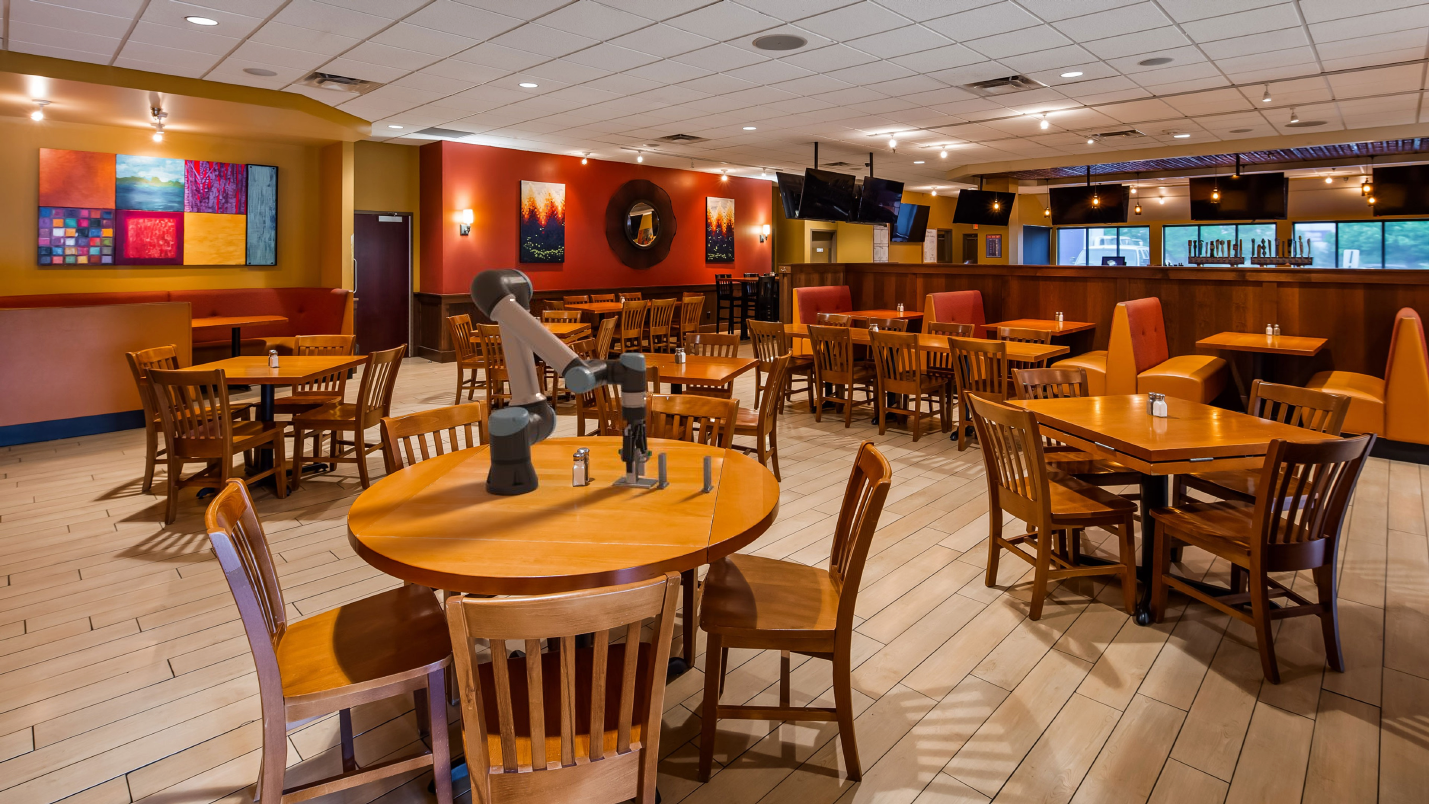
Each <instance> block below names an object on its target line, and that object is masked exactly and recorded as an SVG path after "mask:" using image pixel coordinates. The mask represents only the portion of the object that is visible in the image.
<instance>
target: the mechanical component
mask: <svg viewBox="0 0 1429 804" xmlns="http://www.w3.org/2000/svg"><path fill="white" fill-rule="evenodd" d="M622 450H623V447H621V448H618V451H617V452H618V454H619V456H620V460H621V461H622ZM652 456H653V451H652V450H650V449H648V450H646V452H645V454H641V452H640V449H639V448H636V447H635V453H634V462H635V476H636V482H637V481H638V477H639V476H638V467H640V465H639V463H645V464H646V463H647V462H648V461H650V459H651V457H652ZM640 457H644V458H645V460H642V459H640Z"/></svg>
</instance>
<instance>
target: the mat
mask: <svg viewBox="0 0 1429 804" xmlns="http://www.w3.org/2000/svg"><path fill="white" fill-rule="evenodd" d="M657 483H659V478H653V477H642V476H638V481H637V482H636V483H626V475H625V476H624V475H622V476H621V477H619V478H618V479H617V480H615V481H614V482H612V486H617V487H628V488H629V487H631V488H642V489H652V487H653V486H654V485H656V484H657Z"/></svg>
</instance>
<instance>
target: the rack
mask: <svg viewBox="0 0 1429 804" xmlns="http://www.w3.org/2000/svg"><path fill="white" fill-rule="evenodd" d="M657 460H658V461H657V462H658V463H657V464H658V465H657V466H658V467H657V469H658V471H657V472H658V475H657V476H658V479H659V481H658V484H657V485H656V486H655V489H660V490H664V489H666V488H667V487H668V486H669V485H670V482H668V481H667V479H668V478H667V475H668V474H667V471H668V470H667V469H668V468H667V452H660V453H659V454H658V455H657ZM702 463H703V466H702V467H703V468H702V469H703V488H701V489H700V491H701V493H710V492H711V491H712V490H713V489H714V488H715V485H712V455H705V456H704V457H703V461H702Z"/></svg>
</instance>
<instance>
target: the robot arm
mask: <svg viewBox="0 0 1429 804" xmlns="http://www.w3.org/2000/svg"><path fill="white" fill-rule="evenodd" d="M469 289H470V291H469V292H470V297H471V299H472V302H474V304H475V306H476V307H477V308H478V310H479V311H481V312H482V313H483V314H484V316H486V317H487V318H488V319H490V320H491V321H492V322H495V321H496V322H497V323H498V328H499V335H500V339H501V345H502V350H503V356H504V360H505V366H506V370H507V376H508V381H509V387H510V388H509V389H510V392H511V400H510V401H509V403H508V407H505V408H500V409H497V410H495V411H492V413H491V414H490V415H489V416H488V424H487V431H488V440H489V441H488V442H489V452H490V453H489V454H490V455H489V457H490V467H489V470H488V474H487V476H486V480H485V489H486V492H487V493H490V494H493V495H500V496H509V495H511V496H513V495H520V494H521V495H522V494H525V493H529V492H532V491H535V490H537V488H538V487H539V477H538V476H537V475H538V474H537V473H536V470H535V467H534V465H533V462H532V451H531V446H534V445H535V444H538V443H540V442H543V441H544V440H545V441H546V439H548V437H550V436H551V435H552V434H553V432H554V431H555V429H556V428H557V427H556V426H557V414H556V413H555V410H554V409H553V408H552V407H551V406H550V404H548V401H547V400H548V399H547V396H545V395H544V394H542V393H541V389H540V384H539V383H540V382H539V378H538V373H537V367H536V363H535V357H534V353H535V354H536V355H537V356H538V357H539V358H540V359H541V360H542V361H543V362H545V363H546V364H547V365H548V366H550V367H551V368H552V369H553V370H554V371H555V372H557V373H558V375H560V376H561V377H562V378H563V379H564V384H565V386H566V388H567V389H568V390H569V392H571V393H573V394H577V395H578V394H583V393H584V394H585V393H588V392H590V391H592V390H593V389H596V388H599V387H601V386H605V385H608V386H609V385H610V386H611V385H612V386H613V385H614V386H620V403H621V405H622V406H621V410H620V411H621V418H622V419H623V420H626V427H625V428H624V427H623V428H622V429H621V433H622V448H623V450H622V460H621V461H622V462H623V463H625V476H626V483H636V476H635V462H634V453H635V448H639V449H640V452H641V454H645V452H646V450H649V449H648V438H647V435H648V433H647V420H646V419H647V416H648V409H647V407H648V406H647V405H646V404H647V398H648V394H647V375H646V374H647V366H646V356H645V354H643V353H640V352H624V353H621V354H620V355H619V359H600V358H592V359H591V358H590V359H589V358H587V359H585V360H584V359H583V358H581V357H580V356H579V355H578V354H577V353H576V352H574V350H572V349H571V348H570V347H569V346H568V345H567V344H566V343H564V342H563V341H562V340H561V339H560V338H559V337H557V336H556V335H555V334H554V333H553V332H552V331H550V330H549V329H548V328H547V327H546V326H545V325H543V324H542V323H541V322H540V320H538V319H537V318H535V316H533V315H532V314H531V313H530V311H531V307H530V303H529V302H530V301H531V299H532V297H533V290H534V289H533V284H532V282H531V280H530V278H529V277H528V276H527V275H526V273H524V272H523V271H521V270H518V269H513V268H501V269H500V268H499V269H486V270H485V269H484V270H482V271H480V272H478V273H477V274H476V275H475V276H474V277H473V279H472V281H471V283H470V288H469ZM640 459H642V460H646V458H644V457H640ZM639 465H640V467H638V477H645V476H646V463H639Z"/></svg>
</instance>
